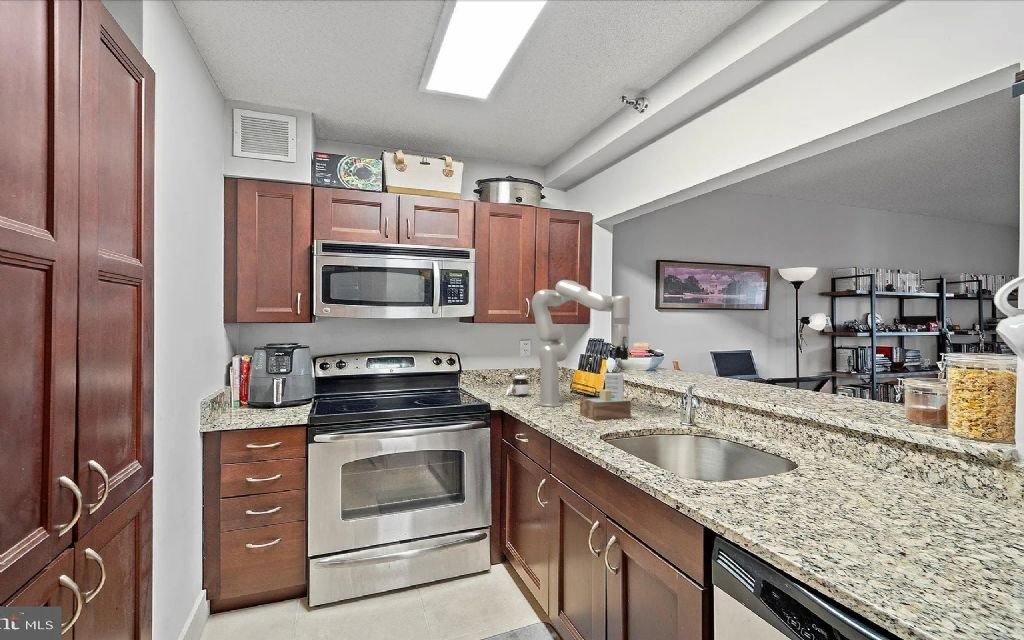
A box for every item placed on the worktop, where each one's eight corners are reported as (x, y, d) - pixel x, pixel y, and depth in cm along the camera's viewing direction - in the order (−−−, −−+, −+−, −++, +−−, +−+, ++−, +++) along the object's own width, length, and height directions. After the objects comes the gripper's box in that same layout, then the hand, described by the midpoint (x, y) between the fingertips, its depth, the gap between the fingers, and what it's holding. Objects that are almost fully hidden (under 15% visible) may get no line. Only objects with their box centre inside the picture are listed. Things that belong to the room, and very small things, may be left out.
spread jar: (530, 396, 276) (531, 376, 276) (514, 398, 270) (514, 377, 270) (518, 393, 286) (519, 374, 286) (503, 395, 279) (503, 375, 280)
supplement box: (623, 408, 239) (623, 375, 240) (604, 407, 241) (605, 374, 241) (622, 405, 249) (623, 373, 249) (604, 404, 251) (605, 372, 251)
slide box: (580, 414, 221) (580, 398, 221) (613, 412, 227) (613, 396, 228) (595, 420, 208) (595, 402, 208) (630, 418, 214) (630, 400, 214)
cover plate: (584, 402, 220) (584, 389, 221) (613, 400, 226) (613, 388, 226) (596, 406, 210) (597, 392, 210) (627, 404, 215) (627, 391, 215)
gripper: (608, 322, 230) (608, 357, 230) (618, 321, 213) (618, 360, 213) (623, 322, 231) (623, 357, 230) (635, 322, 213) (635, 360, 213)
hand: (621, 358), depth 222 cm, fingers open, 9 cm apart
